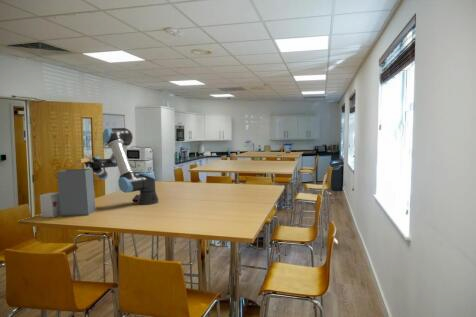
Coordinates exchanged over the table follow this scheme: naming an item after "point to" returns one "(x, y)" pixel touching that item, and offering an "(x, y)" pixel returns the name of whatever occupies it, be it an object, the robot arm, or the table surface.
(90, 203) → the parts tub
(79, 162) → the lid strip
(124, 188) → the robot arm
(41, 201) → the supplement box
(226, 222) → the table surface
